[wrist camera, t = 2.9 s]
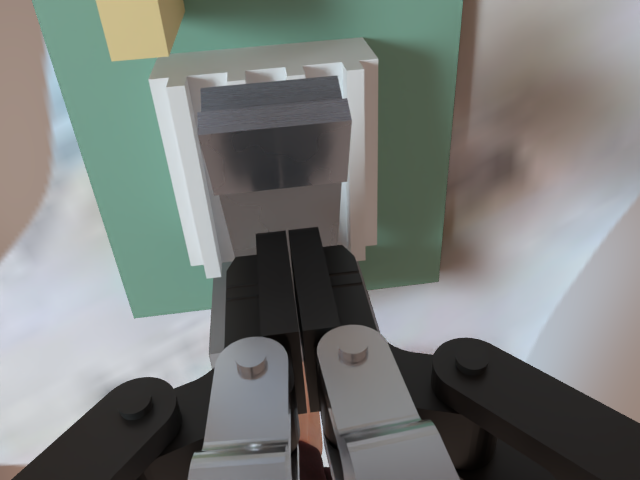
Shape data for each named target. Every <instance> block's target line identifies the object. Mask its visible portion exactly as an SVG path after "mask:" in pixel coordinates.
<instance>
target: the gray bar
mask: <svg viewBox="0 0 640 480" xmlns="http://www.w3.org/2000/svg"><path fill="white" fill-rule="evenodd" d="M200 92H201V112H197V120H198V137H199V141H200V145H201V148H202V152H203V156H204V159H205V163H206V167H207V170H208V174H209V178H210V181H211V185H212V189H213V192H214V196H217V195H219V198H220V202H221V206H222V209H223V213H224V217H225V221H226V225H227V229H228V233H229V236H230V240H231V244H232V248H233V252H234V256H235V257H239V256H248V255H257V253H256V234H257V233H266V232H275V231H284V230H286V237H287V245H288V252H289V260H290V267H291V275H292V282H293V274H292V264H291V254H290V245H289V234H288V230H292V229H301V228H310V227H318V228H319V233H320V237H321V241H322V246H323V247H326V246H335V245H338V233H339V217H340V202H341V186H342V182H347V178H348V165H349V152H350V139H351V126H352V118H351V114H350V109H349V104H348V100H347V98H343V99H342V95H341V90H340V85H339V80H338V76H327V77H316V78H305V79H294V80H283V81H272V82H261V83H250V84H239V85H228V86H217V87H206V88H200ZM293 289H294V284H293ZM294 297H295V293H294ZM295 304H296V301H295ZM296 312H297V309H296ZM297 319H298V317H297ZM298 327H299V324H298ZM299 335H300V332H299ZM300 345H301V339H300ZM301 355H302V362H304V361H303V354H302V346H301Z"/></svg>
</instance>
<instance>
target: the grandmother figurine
mask: <svg viewBox="0 0 640 480" xmlns="http://www.w3.org/2000/svg"><path fill="white" fill-rule="evenodd" d="M302 365H303V375H304V385H305V396H306V406H307V413H305V414H298V417H299V426H300V439H299V442H298V446H299V479H300V480H333V479H332V475H331V471H330V467H323V461H322V458H321V455H322V433H321V425H320V415H319V412H311V413H310V406H309V398H308V391H307V384H306V376H305V369H304V362H302Z"/></svg>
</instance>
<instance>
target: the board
mask: <svg viewBox="0 0 640 480" xmlns="http://www.w3.org/2000/svg"><path fill="white" fill-rule="evenodd" d="M32 2H33V6H34V8H35V12H36V15H37V18H38V21H39V24H40V27H41V30H42V33H43V37H44V40H45V43H46V46H47V49H48V52H49V55H50V58H51V61H52V65H53V68H54V71H55V74H56V77H57V80H58V83H59V86H60V89H61V92H62V96H63V99H64V102H65V105H66V108H67V111H68V114H69V117H70V120H71V124H72V127H73V130H74V133H75V136H76V139H77V142H78V145H79V148H80V152H81V155H82V158H83V161H84V164H85V167H86V170H87V173H88V176H89V179H90V183H91V186H92V189H93V192H94V195H95V198H96V201H97V204H98V207H99V211H100V214H101V217H102V220H103V223H104V226H105V229H106V232H107V235H108V238H109V242H110V245H111V248H112V251H113V254H114V257H115V260H116V263H117V266H118V270H119V273H120V276H121V279H122V282H123V285H124V288H125V291H126V294H127V298H128V301H129V304H130V307H131V310H132V313H133V316H134V318H141V317H149V316H158V315H166V314H174V313H183V312H191V311H199V310H207V309H211V325H210V343H209V357H210V362H211V366H212V369H213V368H214V367H215V363H216V360H217V358H218V356H219V355H220V353H221V352H222V351H223V350H224V340H225V304H226V271H227V269H228V268H229V266H230V265H231V263H232V262H233V260H234V259H235V256H234V252H233V248H232V244H231V240H230V236H229V233H228V229H227V225H226V221H225V217H224V213H223V209H222V206H221V202H220V198H219V195H217V196H214V192H213V189H212V185H211V181H210V178H209V174H208V170H207V167H206V163H205V159H204V156H203V152H202V148H201V145H200V141H199V137H198V120H197V112H201V92H200V88H206V87H217V86H228V85H239V84H250V83H261V82H272V81H283V80H294V79H305V78H316V77H327V76H338V80H339V85H340V90H341V95H342V99H343V98H347V100H348V104H349V109H350V114H351V118H352V126H351V139H350V152H349V165H348V178H347V182H342V186H341V202H340V217H339V233H338V245H343V246H344V247H345V248H346V249H347V250H348V251H349V252H351V253H352V254H353V255H354V256H355V259H356V263H357V266H358V269H359V273H360V276H361V279H362V283H363V286H364V289H365V292H366V295H367V299H368V302H369V305H370V309H371V312H372V315H373V318H374V322H375V325H376V328H377V330H378V332H379V333H380V331H379V327H378V324H377V321H376V318H375V314H374V311H373V308H372V305H371V301H370V298H369V295H368V291H367V290H374V289H382V288H390V287H399V286H407V285H415V284H424V283H432V282H439V271H440V259H441V248H442V236H443V225H444V213H445V202H446V190H447V179H448V167H449V156H450V144H451V133H452V121H453V110H454V99H455V87H456V76H457V64H458V53H459V41H460V30H461V18H462V7H463V0H32Z"/></svg>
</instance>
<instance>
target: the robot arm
mask: <svg viewBox="0 0 640 480" xmlns="http://www.w3.org/2000/svg"><path fill="white" fill-rule="evenodd" d="M288 234H289V245H290V254H291V264H292V274H293V282H292V275H291V267H290V260H289V252H288V245H287V237H286V230H284V231H275V232H266V233H257V234H256V253H257V255H248V256H239V257H235V259H234V260H233V262H232V263H231V265H230V266H229V268H228V269H227V271H226V304H225V340H224V350H223V351H222V352H221V353H220V355H219V356H218V358H217V360H216V363H215V367H214V368H213V369H212V370H211V371H210V372H208V373H207V374H206V375H204V376H202V377H201V378H199V379H197V380H195V381H192V382H190V383H187V384H185V385H182V386H180V387H177V388H175V389H173V387H172V386H171V385H170V384H169V383H167V382H166V381H164V380H162V379H159V378H154V377H143V378H137V379H133V380H130V381H127V382H125V383H123V384H121V385H119V386H118V387H116V388H114V389H113V390H112V391H111V392H109V393H108V394H107V395H106V396H105V397H104V398H103V399H102V400H100V401H99V402H98V403H97V404H96V405H95V406H94V407H93V408H91V409H90V410H89V411H88V412H87V413H86V414H85V415H83V416H82V417H81V418H80V419H79V420H78V421H77V422H76V423H74V424H73V425H72V426H71V427H70V428H69V429H68V430H67V431H65V432H64V433H63V434H62V435H61V436H60V437H59V438H58V439H56V440H55V441H54V442H53V443H52V444H51V445H50V446H49V447H47V448H46V449H45V450H44V451H43V452H42V453H41V454H40V455H38V456H37V457H36V458H35V459H34V460H33V461H32V462H31V463H29V464H28V465H27V466H26V467H25V468H24V469H23V470H22V471H21V472H20V473H18V474H17V475H16V476H15V477H14V478H13V479H12V480H300V479H299V446H298V442H299V439H300V426H299V417H298V414H305V413H307V406H306V396H305V385H304V375H303V365H302V355H301V346H302V354H303V361H304V369H305V376H306V384H307V391H308V398H309V406H310V413H311V412H319V411H320V412H321V419H322V425H323V436H324V446H325V450H326V455H327V459H328V463H329V467H330V471H331V475H332V479H333V480H640V423H638V422H636V421H634V420H632V419H630V418H629V417H627V416H625V415H623V414H621V413H619V412H617V411H615V410H613V409H612V408H610V407H608V406H606V405H604V404H602V403H600V402H598V401H597V400H595V399H593V398H591V397H589V396H587V395H585V394H583V393H582V392H580V391H578V390H576V389H574V388H572V387H570V386H568V385H567V384H565V383H563V382H561V381H559V380H557V379H555V378H554V377H552V376H550V375H548V374H546V373H544V372H542V371H540V370H539V369H537V368H535V367H533V366H531V365H529V364H527V363H525V362H524V361H522V360H520V359H518V358H516V357H514V356H512V355H510V354H509V353H507V352H505V351H503V350H501V349H499V348H497V347H495V346H493V345H492V344H490V343H487V342H485V341H482V340H479V339H474V338H457V339H453V340H449V341H447V342H445V343H443V344H442V345H441V346H439V347H438V349H437V350H436V351H435V353H434V355H430V354H422V353H414V352H408V351H405V350H401V349H399V348H397V347H394V346H393V345H391V344H389V343H388V342H387V341H386V339H385V338H384V337H383V336H382V335H381V334H380V333H379V332H378V330H377V328H376V325H375V322H374V318H373V315H372V312H371V309H370V305H369V302H368V299H367V295H366V292H365V289H364V286H363V283H362V279H361V276H360V273H359V269H358V266H357V263H356V259H355V256H354V255H353V254H352V253H351V252H349V251H348V250H347V249H346V248H345V247H344V246H343V245H335V246H326V247H323V246H322V241H321V237H320V233H319V228H318V227H310V228H301V229H292V230H288ZM293 284H294V289H293ZM294 293H295V297H294ZM295 301H296V304H295ZM296 309H297V312H296ZM297 317H298V319H297ZM298 324H299V327H298ZM299 332H300V335H299ZM300 339H301V345H300Z"/></svg>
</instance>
